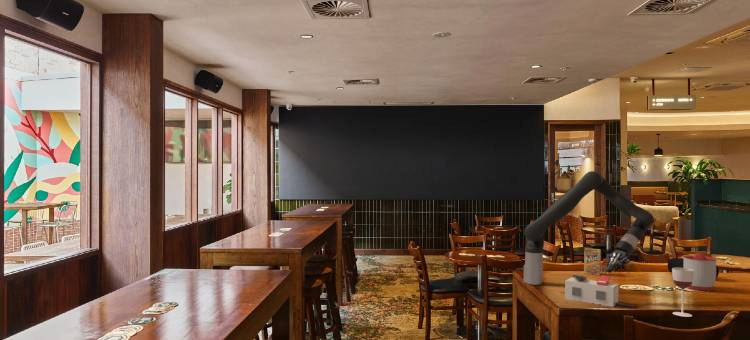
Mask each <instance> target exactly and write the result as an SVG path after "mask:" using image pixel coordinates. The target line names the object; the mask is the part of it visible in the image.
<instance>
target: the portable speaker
mask: <svg viewBox="0 0 750 340" xmlns="http://www.w3.org/2000/svg"><path fill="white" fill-rule="evenodd" d="M676 267H679V268H683V267H684V258H678V257H673V258H670V259H669V260H668V261H667V269H668V272H669V273H671V274H672V268H676ZM719 271H720V270H719V266H718V265H717V264H716V280H717V279H718V277H719V275H720V274H719V273H720V272H719Z"/></svg>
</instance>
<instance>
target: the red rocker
mask: <svg viewBox="0 0 750 340" xmlns="http://www.w3.org/2000/svg"><path fill="white" fill-rule="evenodd" d="M610 279H611V276H610V275H602V274H600V277H599V279H597V280H596V281H597V285H604V286H606V285H607V284H608V283H610Z"/></svg>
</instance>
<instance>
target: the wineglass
mask: <svg viewBox="0 0 750 340" xmlns="http://www.w3.org/2000/svg"><path fill="white" fill-rule="evenodd" d="M671 274H672V281H673V283H674V286H676V287H678V288H679V289H681V312H680V311H673V312H672V314H673V315H675V316H679V317H685V318H687V317H688V318H689V317H693V315H692V314H691V313H687V312H684V303H685V302H684V301H685V300H684V297H685V295H684V294H685V293H684V292H685V291H684V290H685V289H689V288H688V287H690V286H691V285H692V283H693V279H694V270H693V269H689V268H679V267H676V268H672V273H671Z"/></svg>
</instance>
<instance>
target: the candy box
mask: <svg viewBox="0 0 750 340" xmlns="http://www.w3.org/2000/svg"><path fill="white" fill-rule="evenodd" d="M601 251H602V250H601V249H600V248H589V247H588V248H586V247H585V248H584V252H583V253H584V257H583V259H584V261H583V262H584V264H583V274H585V275H594V276H601V261H602V260H601V259H602V258H601V255H602V252H601Z"/></svg>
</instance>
